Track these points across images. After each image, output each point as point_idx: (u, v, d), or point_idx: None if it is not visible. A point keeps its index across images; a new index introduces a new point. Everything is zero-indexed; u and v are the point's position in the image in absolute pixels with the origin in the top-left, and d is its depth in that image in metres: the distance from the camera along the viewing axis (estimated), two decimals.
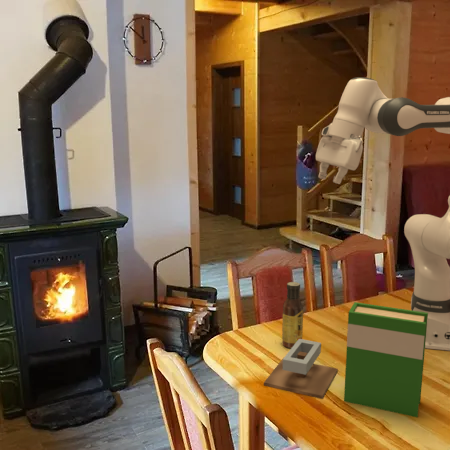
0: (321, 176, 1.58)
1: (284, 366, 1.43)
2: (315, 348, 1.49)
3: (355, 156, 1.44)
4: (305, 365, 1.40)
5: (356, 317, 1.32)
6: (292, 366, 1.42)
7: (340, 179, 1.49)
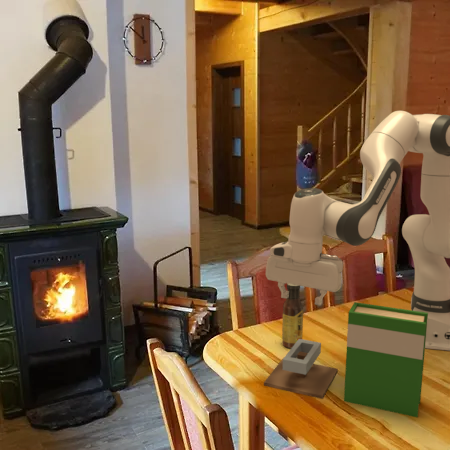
0: (286, 296, 1.46)
1: (284, 366, 1.43)
2: (315, 348, 1.49)
3: (340, 277, 1.39)
4: (305, 365, 1.40)
5: (356, 317, 1.32)
6: (292, 366, 1.42)
7: (321, 299, 1.43)
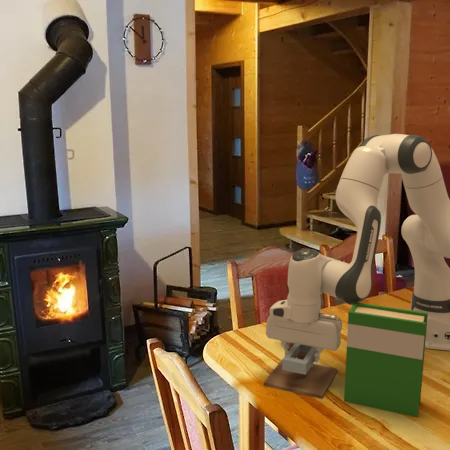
0: None
1: (284, 366, 1.43)
2: (315, 348, 1.49)
3: (339, 336, 1.42)
4: (305, 365, 1.40)
5: (356, 317, 1.32)
6: (292, 366, 1.42)
7: (319, 356, 1.46)
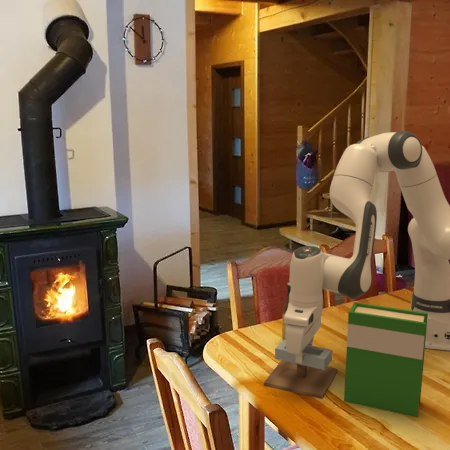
0: None
1: (325, 365, 1.41)
2: None
3: None
4: None
5: (356, 317, 1.32)
6: (327, 360, 1.43)
7: None
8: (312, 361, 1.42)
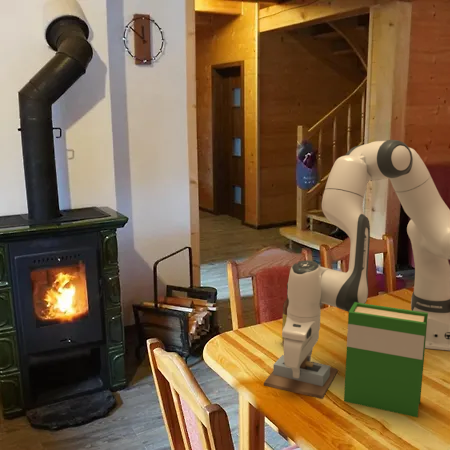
0: None
1: (323, 382, 1.43)
2: None
3: None
4: (329, 367, 1.48)
5: (356, 317, 1.32)
6: (325, 376, 1.45)
7: None
8: (310, 377, 1.44)
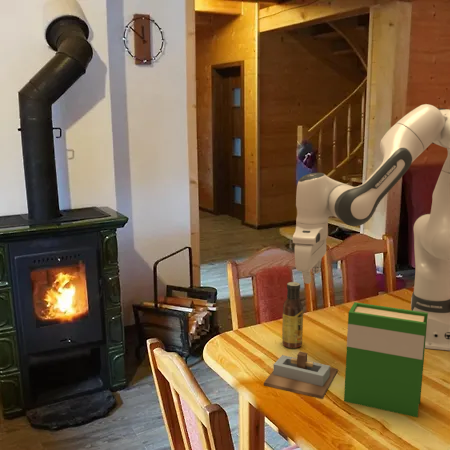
0: None
1: (323, 382, 1.43)
2: (295, 358, 1.52)
3: None
4: (329, 367, 1.48)
5: (356, 317, 1.32)
6: (325, 376, 1.45)
7: None
8: (310, 377, 1.44)
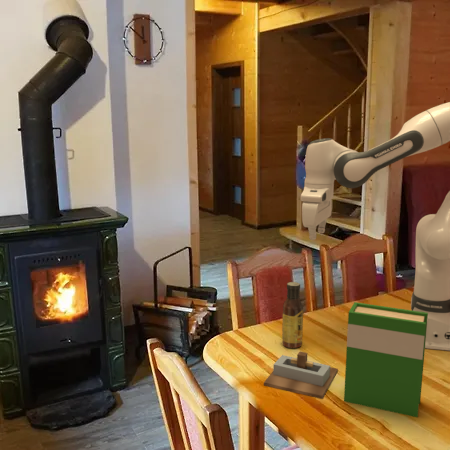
0: None
1: (323, 382, 1.43)
2: (295, 358, 1.52)
3: None
4: (329, 367, 1.48)
5: (356, 317, 1.32)
6: (325, 376, 1.45)
7: None
8: (310, 377, 1.44)
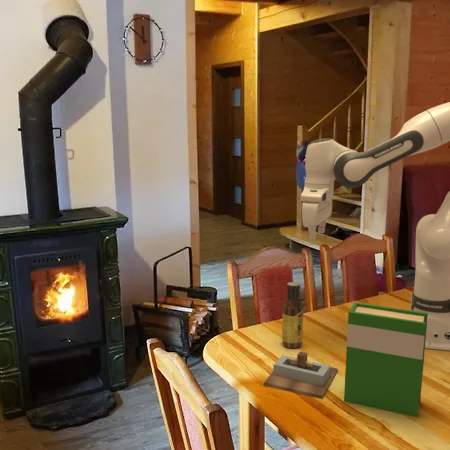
0: None
1: (323, 382, 1.43)
2: (295, 358, 1.52)
3: None
4: (329, 367, 1.48)
5: (356, 317, 1.32)
6: (325, 376, 1.45)
7: None
8: (310, 377, 1.44)
